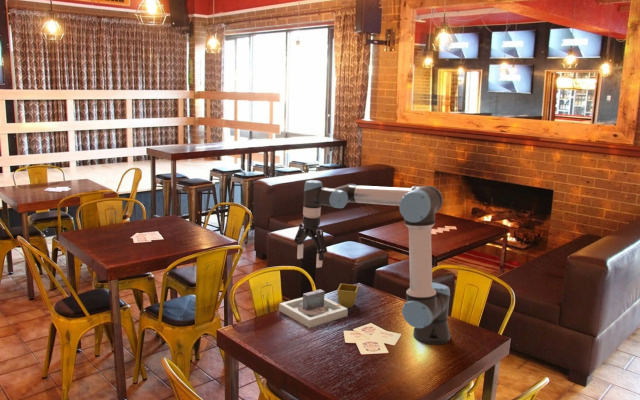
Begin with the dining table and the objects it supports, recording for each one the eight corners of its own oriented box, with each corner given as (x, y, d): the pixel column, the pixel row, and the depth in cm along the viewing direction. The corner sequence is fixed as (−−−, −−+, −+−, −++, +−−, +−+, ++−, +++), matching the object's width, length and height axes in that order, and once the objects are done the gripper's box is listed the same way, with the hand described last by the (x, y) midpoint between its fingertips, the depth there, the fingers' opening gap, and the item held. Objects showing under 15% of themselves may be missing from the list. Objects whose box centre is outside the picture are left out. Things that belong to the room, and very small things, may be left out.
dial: (335, 311, 256) (335, 294, 254) (310, 319, 247) (311, 300, 245) (315, 301, 266) (316, 284, 265) (291, 308, 258) (292, 290, 256)
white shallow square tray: (347, 315, 256) (347, 308, 255) (309, 327, 242) (309, 319, 241) (316, 300, 272) (316, 293, 272) (279, 310, 258) (279, 302, 258)
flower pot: (354, 310, 263) (356, 292, 261) (336, 308, 264) (337, 289, 262) (357, 303, 271) (358, 285, 269) (339, 301, 273) (340, 283, 271)
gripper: (337, 221, 239) (334, 269, 243) (301, 209, 257) (298, 253, 262) (323, 223, 234) (320, 272, 239) (287, 210, 253) (285, 256, 257)
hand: (309, 262), depth 250 cm, fingers open, 13 cm apart
